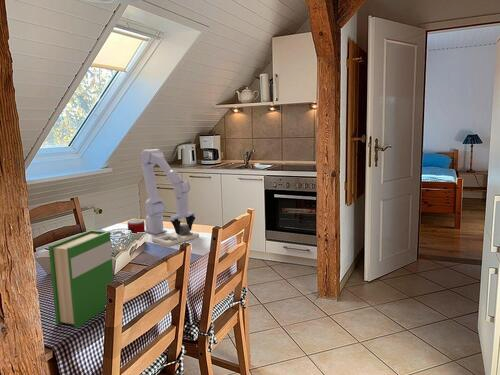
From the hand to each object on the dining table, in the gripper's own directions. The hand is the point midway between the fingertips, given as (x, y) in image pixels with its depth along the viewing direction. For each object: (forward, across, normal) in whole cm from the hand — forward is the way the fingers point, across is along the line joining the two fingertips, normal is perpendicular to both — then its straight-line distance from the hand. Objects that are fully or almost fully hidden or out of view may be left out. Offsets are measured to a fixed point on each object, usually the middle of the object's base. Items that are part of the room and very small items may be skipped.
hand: (183, 231), depth 206 cm
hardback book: (+3, -73, -41) cm, 84 cm away
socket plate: (+3, -5, 0) cm, 6 cm away
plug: (+2, 0, 0) cm, 2 cm away
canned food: (+3, -21, +10) cm, 23 cm away
